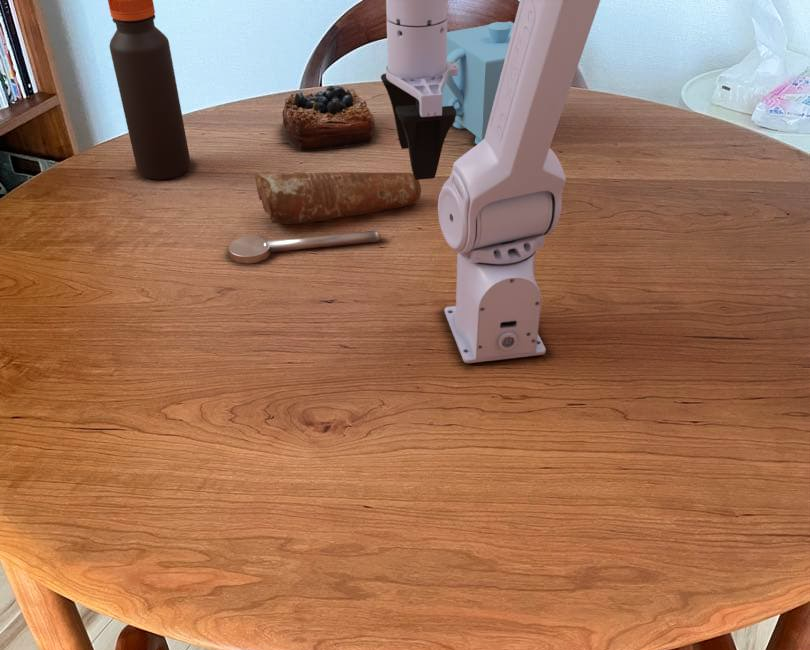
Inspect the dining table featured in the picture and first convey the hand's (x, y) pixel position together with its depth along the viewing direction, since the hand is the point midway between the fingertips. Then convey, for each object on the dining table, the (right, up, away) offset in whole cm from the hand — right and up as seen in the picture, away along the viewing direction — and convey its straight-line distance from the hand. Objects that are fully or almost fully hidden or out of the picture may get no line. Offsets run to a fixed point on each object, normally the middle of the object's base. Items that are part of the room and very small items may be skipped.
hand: (417, 162), depth 95 cm
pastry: (-12, +16, +29) cm, 35 cm away
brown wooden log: (-9, -1, +13) cm, 16 cm away
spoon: (-13, -7, +7) cm, 16 cm away
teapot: (+12, +15, +27) cm, 33 cm away
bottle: (-32, +8, +21) cm, 39 cm away
